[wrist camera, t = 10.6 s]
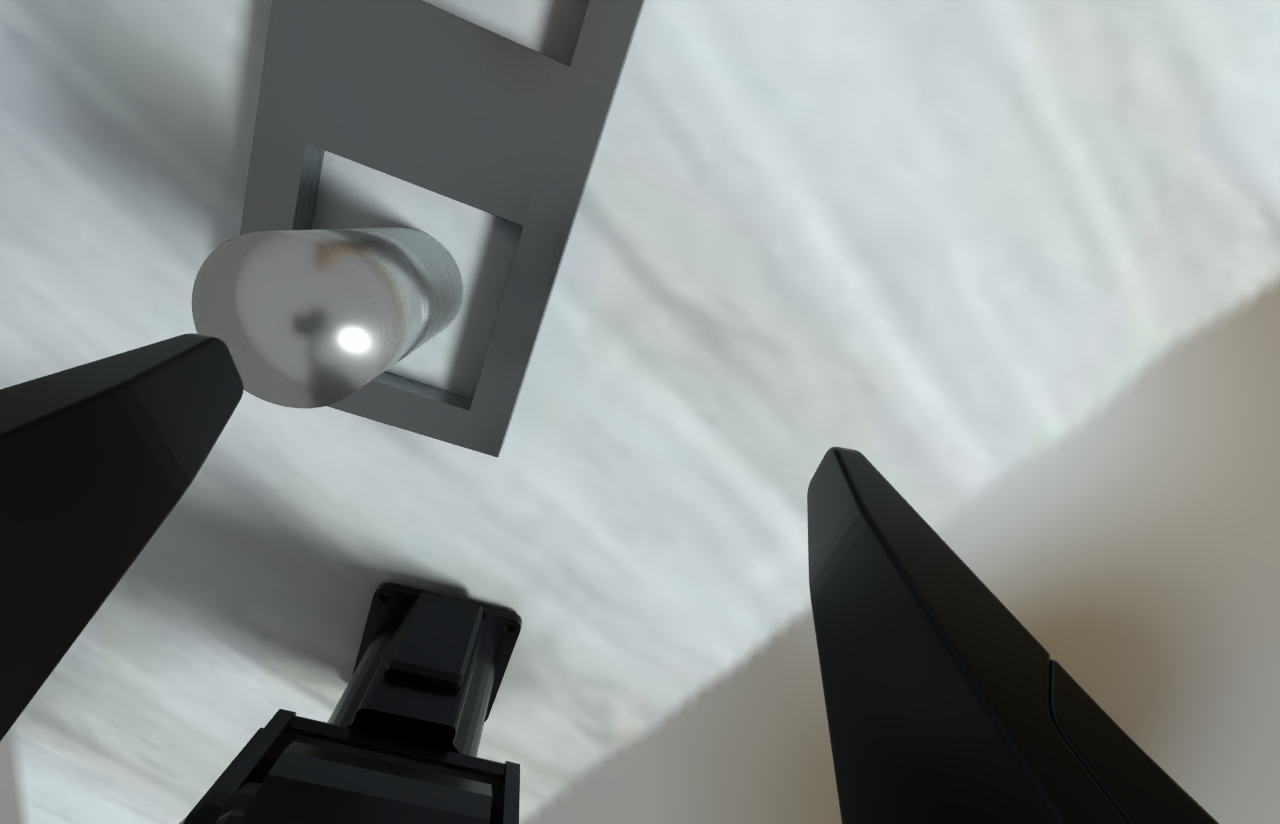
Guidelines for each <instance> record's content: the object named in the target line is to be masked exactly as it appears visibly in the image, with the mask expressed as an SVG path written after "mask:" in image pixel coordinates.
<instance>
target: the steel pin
mask: <svg viewBox="0 0 1280 824" xmlns="http://www.w3.org/2000/svg"><path fill="white" fill-rule="evenodd" d="M462 298H463V283H462V278H461V274H460V271H459V268H458V266H457V264H456V262H455V260H454V259H453V257H452V256H451V254H450V253H449V252H448V250H447V249H446V248H445V247H444V246H443V245H442V244H441V243H440V242H438V241H437V240H436V239H434V238H433V237H431V236H429V235H428V234H426V233H423V232H421V231H418V230H415V229H411V228H405V227H385V228H352V229H319V230H286V231H261V232H252V233H248V234H244V235H240V236H238V237H235V238H233V239H231V240H229V241H227V242H225V243H224V244H222V245H220V246H219V247H218V248H217V249H216V250H214V251H213V252H212V253H211V254H210V255H209V257H208V258H207V259H206V260H205V261H204V263H203V265H202V266H201V268H200V270H199V272H198V274H197V277H196V280H195V282H194V288H193V293H192V312H193V319H194V323H195V327H196V330H197V333H198V334H200V335H205V336H211V337H216V338H219V339H221V340H223V341H224V342H225V343H226V344H227V346H228V348H229V350H230V352H231V355H232V357H233V360H234V362H235V364H236V367H237V369H238V371H239V374H240V376H241V379H242V381H243V387H244V388H243V389H244V390H245V391H247V392H249V393H250V394H252V395H254V396H256V397H258V398H260V399H262V400H265V401H268V402H271V403H274V404H277V405H281V406H286V407H293V408H315V407H322V406H326V405H330V404H333V403H336V402H338V401H341V400H343V399H345V398H346V397H348V396H350V395H351V394H353V393H354V392H356V391H357V390H358V389H360V388H361V387H363V386H364V385H366V384H367V383H368V382H370V381H371V380H373V379H374V378H376V377H377V376H378V375H380V374H381V373H383V372H384V371H386V370H387V369H388V368H390V367H391V366H393V365H394V364H396V363H397V362H398V361H400V360H401V359H403V358H404V357H405V356H407V355H408V354H410V353H411V352H413V351H414V350H415V349H417V348H418V347H420V346H421V345H423V344H424V343H425V342H427V341H428V340H430V339H431V338H433V337H434V336H435V335H437V334H438V333H440V332H441V331H442V330H444V329H445V328H446V327H448V326H449V325H450V323H451V322H452V321H453V320H454V318H455V317H456V315H457V313H458V311H459V309H460V306H461V303H462Z"/></svg>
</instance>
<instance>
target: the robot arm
mask: <svg viewBox="0 0 1280 824" xmlns="http://www.w3.org/2000/svg"><path fill="white" fill-rule="evenodd" d="M243 388H244V387H243V381H242V379H241V376H240V374H239V371H238V369H237V367H236V364H235V362H234V360H233V357H232V355H231V352H230V350H229V348H228V346H227V344H226V343H225V342H224V341H223V340H221V339H219V338H216V337H211V336H205V335H200V334H184V335H180V336H177V337H174V338H170V339H167V340H164V341H160V342H157V343H154V344H150V345H147V346H144V347H140V348H137V349H134V350H130V351H127V352H124V353H120V354H117V355H114V356H111V357H107V358H104V359H101V360H97V361H94V362H91V363H87V364H84V365H81V366H77V367H74V368H71V369H67V370H64V371H61V372H57V373H54V374H51V375H47V376H44V377H41V378H37V379H34V380H31V381H27V382H24V383H21V384H17V385H14V386H11V387H7V388H4V389H1V390H0V741H1V740H2V739H3V737H4V736H5V735H6V733H7V732H8V731H9V729H10V728H11V726H12V725H13V724H14V722H15V721H16V720H17V718H18V717H19V716H20V714H21V713H22V712H23V710H24V709H25V708H26V706H27V705H28V704H29V702H30V701H31V700H32V698H33V697H34V695H35V694H36V693H37V691H38V690H39V689H40V687H41V686H42V685H43V683H44V682H45V681H46V679H47V678H48V677H49V675H50V674H51V673H52V671H53V670H54V668H55V667H56V666H57V664H58V663H59V662H60V660H61V659H62V658H63V656H64V655H65V654H66V652H67V651H68V650H69V648H70V647H71V646H72V644H73V643H74V642H75V640H76V639H77V637H78V636H79V635H80V633H81V632H82V631H83V629H84V628H85V627H86V625H87V624H88V623H89V621H90V620H91V619H92V617H93V616H94V615H95V613H96V612H97V610H98V609H99V608H100V606H101V605H102V604H103V602H104V601H105V600H106V598H107V597H108V596H109V594H110V593H111V592H112V590H113V589H114V588H115V586H116V585H117V584H118V582H119V581H120V579H121V578H122V577H123V575H124V574H125V573H126V571H127V570H128V569H129V567H130V566H131V565H132V563H133V562H134V561H135V559H136V558H137V557H138V555H139V554H140V553H141V551H142V550H143V548H144V547H145V546H146V544H147V543H148V542H149V540H150V539H151V538H152V536H153V535H154V534H155V532H156V531H157V530H158V528H159V527H160V526H161V524H162V523H163V521H164V520H165V519H166V517H167V516H168V515H169V513H170V512H171V511H172V509H173V508H174V507H175V505H176V504H177V503H178V501H179V500H180V499H181V497H182V496H183V494H184V493H185V491H186V490H187V489H188V487H189V486H190V484H191V483H192V481H193V480H194V478H195V476H196V475H197V473H198V472H199V470H200V468H201V467H202V465H203V463H204V462H205V460H206V458H207V456H208V455H209V453H210V451H211V450H212V448H213V446H214V444H215V443H216V441H217V439H218V438H219V436H220V434H221V432H222V431H223V429H224V427H225V426H226V424H227V422H228V420H229V419H230V417H231V415H232V414H233V412H234V410H235V408H236V407H237V405H238V403H239V402H240V400H241V398H242V394H243ZM807 505H808V557H809V586H810V595H811V604H812V611H813V618H814V626H815V633H816V639H817V647H818V654H819V662H820V669H821V675H822V683H823V690H824V698H825V705H826V712H827V719H828V726H829V734H830V741H831V747H832V756H833V763H834V770H835V777H836V784H837V792H838V799H839V805H840V813H841V821H842V824H1219V823H1218V822H1217V821H1216V820H1215V819H1214V818H1213V817H1211V816H1210V815H1209V814H1208V813H1207V812H1206V811H1205V810H1204V809H1203V808H1202V807H1201V806H1200V805H1199V804H1198V803H1197V802H1196V801H1195V800H1194V799H1193V798H1192V797H1191V796H1190V795H1189V794H1187V793H1186V792H1185V791H1184V790H1183V789H1182V788H1181V787H1180V786H1179V785H1178V784H1177V783H1176V782H1175V781H1174V780H1173V779H1172V778H1171V777H1170V776H1169V775H1168V774H1167V773H1166V772H1165V771H1164V770H1163V769H1162V768H1161V767H1160V766H1159V765H1158V764H1157V763H1156V762H1154V761H1153V759H1151V758H1150V757H1149V756H1148V755H1147V754H1146V753H1145V752H1144V751H1143V750H1142V749H1141V748H1140V747H1139V746H1138V745H1137V744H1136V743H1135V742H1134V741H1133V740H1132V739H1131V738H1130V737H1129V736H1128V735H1127V734H1126V733H1125V732H1124V731H1123V730H1122V729H1121V728H1120V727H1119V726H1118V725H1117V724H1116V723H1115V722H1114V721H1113V720H1112V719H1111V718H1110V716H1109V715H1108V714H1107V713H1106V712H1105V711H1104V710H1103V709H1102V708H1101V707H1100V706H1099V705H1098V704H1097V703H1096V702H1095V701H1094V700H1093V699H1092V698H1091V697H1090V696H1089V695H1088V694H1087V693H1086V692H1085V691H1084V690H1083V689H1082V688H1081V686H1079V684H1078V683H1077V682H1076V681H1075V680H1074V679H1073V678H1072V677H1071V676H1070V675H1069V674H1068V673H1067V672H1066V671H1065V669H1064V668H1063V667H1061V665H1060V664H1059V663H1058V662H1057V661H1056V660H1054V659H1050V654H1049V653H1048V652H1047V651H1046V649H1045V648H1044V647H1043V646H1042V645H1041V644H1040V643H1039V642H1038V641H1037V640H1036V639H1035V638H1034V637H1033V636H1032V635H1031V634H1030V632H1029V631H1028V630H1027V629H1026V628H1025V627H1024V626H1023V625H1022V624H1021V623H1020V622H1019V621H1018V620H1017V619H1016V617H1015V616H1014V615H1013V614H1012V613H1011V612H1010V611H1009V610H1008V609H1007V608H1006V607H1005V606H1004V605H1003V604H1002V602H1000V600H999V599H998V598H997V597H996V596H995V595H994V594H993V593H992V592H991V591H990V590H989V589H988V588H987V587H986V586H985V585H984V584H983V582H982V581H981V580H980V579H979V578H978V577H977V576H976V575H975V574H974V573H973V572H972V571H971V569H970V568H969V567H968V566H967V565H966V564H965V563H964V562H963V561H962V560H961V559H960V558H959V557H958V556H957V555H956V553H955V552H954V551H953V550H952V549H951V548H950V547H949V546H948V545H947V544H946V543H945V542H944V541H943V540H942V539H941V538H940V536H939V535H938V534H937V533H936V532H935V531H934V530H933V529H932V528H931V527H930V526H929V525H928V524H927V523H926V521H925V520H924V519H923V518H922V517H921V516H920V515H919V514H918V513H917V512H916V511H915V510H914V509H913V508H912V507H911V505H910V504H909V503H908V502H907V501H906V500H905V499H904V498H903V497H902V496H901V495H900V494H899V493H898V492H897V491H896V489H895V488H894V487H893V486H892V485H891V484H890V483H889V482H888V481H887V480H886V479H885V478H884V477H883V476H882V475H881V473H880V472H879V471H878V470H877V469H876V468H875V467H874V466H873V465H872V464H871V463H870V462H869V461H868V460H867V459H866V457H865V456H864V455H863V454H861V453H860V452H859V451H857V450H852V449H847V448H841V447H832V448H830V449H829V450H828V451H827V452H826V454H825V456H824V458H823V459H822V461H821V463H820V465H819V467H818V468H817V470H816V472H815V474H814V476H813V478H812V479H811V481H810V484H809V488H808V494H807ZM383 593H388V594H390V595H391V597H388V596H385V595H384V594H383ZM508 623H511V624H513V625H514V626H508V625H507V624H508ZM521 624H522V620H521V617H520V616H519V615H517V614H515V613H511V612H507V611H503V610H499V609H495V608H491V607H487V606H483V605H479V604H475V603H471V602H467V601H463V600H459V599H455V598H451V597H447V596H443V595H439V594H435V593H431V592H427V591H422V590H418V589H414V588H410V587H406V586H402V585H398V584H394V583H388V582H386V583H382V584H381V585H380V586H379V587H378V588H377V590H376V592H375V594H374V596H373V600H372V603H371V607H370V611H369V615H368V619H367V622H366V626H365V630H364V634H363V638H362V641H361V645H360V649H359V653H358V657H357V660H356V664H355V668H354V672H353V676H352V678H351V680H350V682H349V684H348V685H347V687H346V689H345V691H344V693H343V695H342V696H341V698H340V700H339V702H338V704H337V706H336V708H335V709H334V711H333V713H332V715H331V717H330V719H329V721H328V722H327V723H325V722H321V721H317V720H312V719H308V718H304V717H299V716H296V712H292V711H287V710H283V709H279V711H278V712H277V713H276V714H275V715H274V717H273V718H272V719H271V720H270V721H269V723H268V724H267V725H266V726H265V728H260V729H259V730H258V731H257V732H256V734H255V735H254V736H253V737H252V738H251V740H250V741H249V742H248V743H247V744H246V746H245V747H244V748H243V749H242V750H241V752H240V753H239V754H238V755H237V757H236V758H235V759H234V760H233V761H232V763H231V764H230V765H229V766H228V767H227V769H226V770H225V771H224V772H223V773H222V775H221V776H220V777H219V778H218V779H217V781H216V782H215V783H214V784H213V785H212V787H211V788H210V789H209V790H208V792H207V793H206V794H205V795H204V796H203V798H202V799H201V800H200V801H199V802H198V804H197V805H196V806H195V807H194V808H193V810H192V811H191V812H190V813H189V815H188V816H187V817H186V818H185V819H184V820H183V821H182V822H180V823H179V824H519V792H520V764H517V763H513V762H509V761H506V762H505V764H504V763H500V762H495V761H491V760H487V759H482V758H478V757H476V756H477V752H478V747H479V743H480V738H481V734H482V730H483V725H484V722H485V721H486V720H487V719H488V716H489V713H490V711H491V708H492V705H493V703H494V700H495V697H496V695H497V692H498V689H499V687H500V684H501V681H502V678H503V676H504V673H505V670H506V668H507V665H508V662H509V660H510V657H511V654H512V652H513V649H514V646H515V643H516V641H517V638H518V635H519V633H520V630H521Z"/></svg>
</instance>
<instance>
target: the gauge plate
mask: <svg viewBox="0 0 1280 824" xmlns="http://www.w3.org/2000/svg"><path fill="white" fill-rule="evenodd" d="M644 1H645V0H589V3H588V7H587V10H586V14H585V17H584V21H583V24H582V27H581V31H580V34H579V38H578V41H577V45H576V48H575V51H574V55H573V58H572V62H571V65H570V66H567V65H565V64H563V63H561V62H558V61H556V60H554V59H552V58H549V57H547V56H545V55H543V54H540V53H538V52H536V51H534V50H531V49H529V48H527V47H525V46H522V45H520V44H518V43H516V42H513V41H511V40H509V39H507V38H504V37H502V36H500V35H498V34H495V33H493V32H491V31H489V30H486V29H484V28H482V27H480V26H477V25H475V24H473V23H471V22H468V21H466V20H464V19H462V18H459V17H457V16H455V15H453V14H450V13H448V12H446V11H444V10H442V9H439V8H437V7H435V6H433V5H430V4H428V3H426V2H424V1H421V0H273V3H272V10H271V18H270V25H269V32H268V39H267V46H266V53H265V61H264V68H263V75H262V82H261V89H260V97H259V104H258V111H257V118H256V125H255V132H254V140H253V147H252V154H251V161H250V168H249V175H248V183H247V190H246V197H245V204H244V211H243V219H242V226H241V233H240V235H244V234H248V233H252V232H261V231H286V230H310V229H311V223H312V217H313V212H314V206H315V200H316V195H317V189H318V184H319V178H320V172H321V167H322V161H323V155H324V150H326V151H329V152H331V153H334V154H336V155H339V156H342V157H344V158H347V159H350V160H352V161H355V162H357V163H360V164H363V165H365V166H368V167H370V168H373V169H376V170H378V171H381V172H383V173H386V174H389V175H391V176H394V177H397V178H399V179H402V180H404V181H407V182H410V183H412V184H415V185H417V186H420V187H423V188H425V189H428V190H430V191H433V192H436V193H438V194H441V195H444V196H446V197H449V198H451V199H454V200H457V201H459V202H462V203H464V204H467V205H470V206H472V207H475V208H478V209H480V210H483V211H485V212H488V213H491V214H493V215H496V216H498V217H501V218H504V219H506V220H509V221H511V222H514V223H517V224H519V225H522V226H523V229H522V233H521V236H520V240H519V243H518V247H517V250H516V253H515V257H514V260H513V264H512V267H511V271H510V274H509V277H508V281H507V284H506V288H505V291H504V295H503V298H502V301H501V305H500V308H499V312H498V315H497V319H496V322H495V325H494V329H493V332H492V336H491V339H490V342H489V346H488V349H487V353H486V356H485V360H484V363H483V366H482V370H481V373H480V377H479V380H478V384H477V387H476V390H475V394H474V397H473V400H472V399H469V398H466V397H462V396H459V395H456V394H453V393H450V392H447V391H444V390H440V389H437V388H434V387H431V386H428V385H425V384H421V383H418V382H415V381H412V380H409V379H406V378H403V377H399V376H396V375H393V374H390V373H387V372H383V373H381V374H380V375H378V376H377V377H376V378H374V379H373V380H371V381H370V382H368V383H367V384H366V385H364V386H363V387H361V388H360V389H358V390H357V391H356V392H354V393H353V394H351V395H350V396H348V397H346V398H345V399H343V400H341V401H338V402H336V403H333V404H330V405H326V406H328V407H331V408H335V409H338V410H341V411H345V412H348V413H351V414H355V415H358V416H361V417H365V418H368V419H371V420H375V421H378V422H381V423H385V424H388V425H391V426H395V427H398V428H401V429H405V430H408V431H412V432H415V433H418V434H422V435H425V436H428V437H432V438H435V439H438V440H442V441H445V442H448V443H452V444H455V445H458V446H462V447H465V448H468V449H472V450H475V451H478V452H482V453H485V454H488V455H492V456H495V457H498V456H499V453H500V451H501V449H502V446H503V443H504V440H505V437H506V434H507V431H508V428H509V425H510V421H511V418H512V415H513V412H514V409H515V406H516V403H517V399H518V396H519V393H520V390H521V387H522V384H523V381H524V378H525V374H526V371H527V368H528V365H529V362H530V359H531V356H532V352H533V349H534V346H535V343H536V340H537V337H538V334H539V330H540V327H541V324H542V321H543V318H544V315H545V312H546V308H547V305H548V302H549V299H550V296H551V293H552V290H553V287H554V283H555V280H556V277H557V274H558V271H559V268H560V265H561V261H562V258H563V255H564V252H565V249H566V246H567V243H568V239H569V236H570V233H571V230H572V227H573V224H574V221H575V217H576V214H577V211H578V208H579V205H580V202H581V199H582V195H583V192H584V189H585V186H586V183H587V180H588V177H589V174H590V170H591V167H592V164H593V161H594V158H595V155H596V152H597V148H598V145H599V142H600V139H601V136H602V133H603V130H604V126H605V123H606V120H607V117H608V114H609V111H610V108H611V104H612V101H613V98H614V95H615V92H616V89H617V86H618V83H619V79H620V76H621V73H622V70H623V67H624V64H625V61H626V57H627V54H628V51H629V48H630V45H631V42H632V39H633V35H634V32H635V29H636V26H637V23H638V20H639V17H640V13H641V10H642V7H643V4H644Z"/></svg>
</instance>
